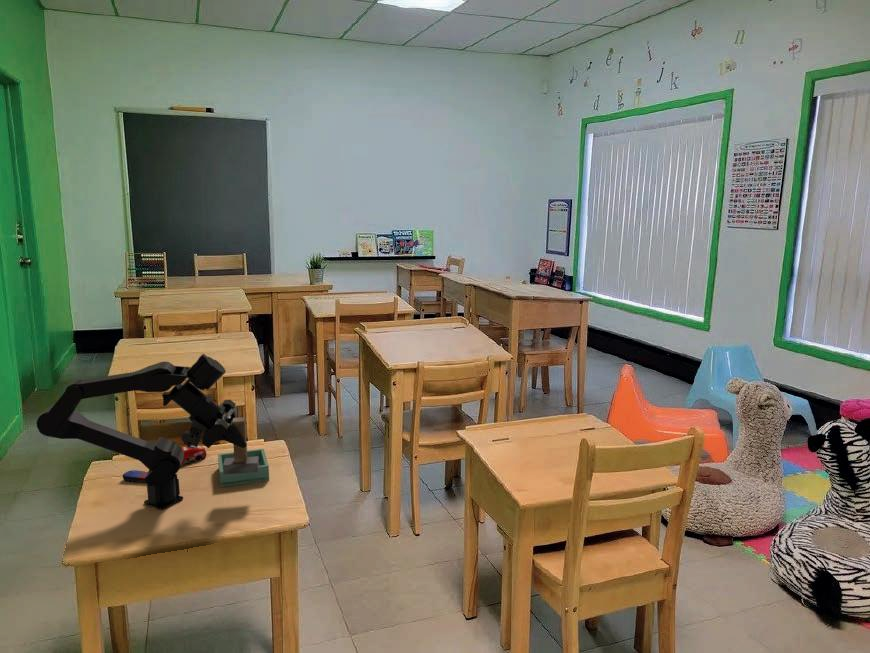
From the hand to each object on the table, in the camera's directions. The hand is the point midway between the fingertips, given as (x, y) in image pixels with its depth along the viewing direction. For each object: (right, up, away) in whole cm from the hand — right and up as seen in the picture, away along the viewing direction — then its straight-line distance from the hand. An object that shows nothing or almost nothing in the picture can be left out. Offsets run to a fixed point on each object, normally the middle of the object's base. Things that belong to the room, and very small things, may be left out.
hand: (246, 444), depth 156 cm
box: (-5, -11, +15) cm, 19 cm away
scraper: (-1, -7, +1) cm, 7 cm away
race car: (-24, -9, +22) cm, 34 cm away
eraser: (-29, -12, +10) cm, 33 cm away
